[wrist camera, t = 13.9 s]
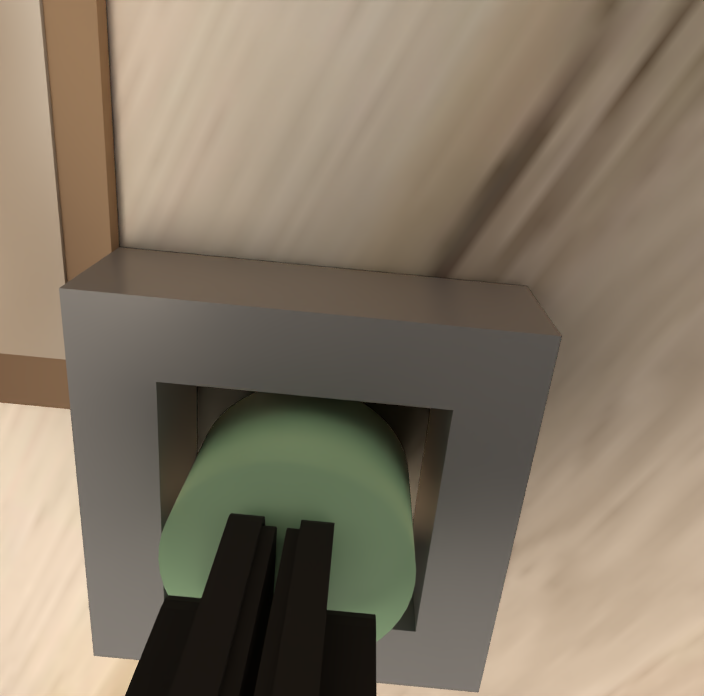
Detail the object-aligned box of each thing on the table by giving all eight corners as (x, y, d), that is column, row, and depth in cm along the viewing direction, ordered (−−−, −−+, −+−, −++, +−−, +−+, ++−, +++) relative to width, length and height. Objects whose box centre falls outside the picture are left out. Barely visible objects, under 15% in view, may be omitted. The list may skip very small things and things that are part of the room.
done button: (422, 396, 12) (432, 475, 10) (396, 571, 14) (399, 676, 11) (198, 374, 12) (154, 449, 10) (199, 552, 14) (161, 653, 11)
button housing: (527, 286, 13) (561, 335, 10) (463, 598, 16) (478, 692, 13) (118, 247, 13) (59, 288, 10) (136, 567, 16) (93, 655, 13)
